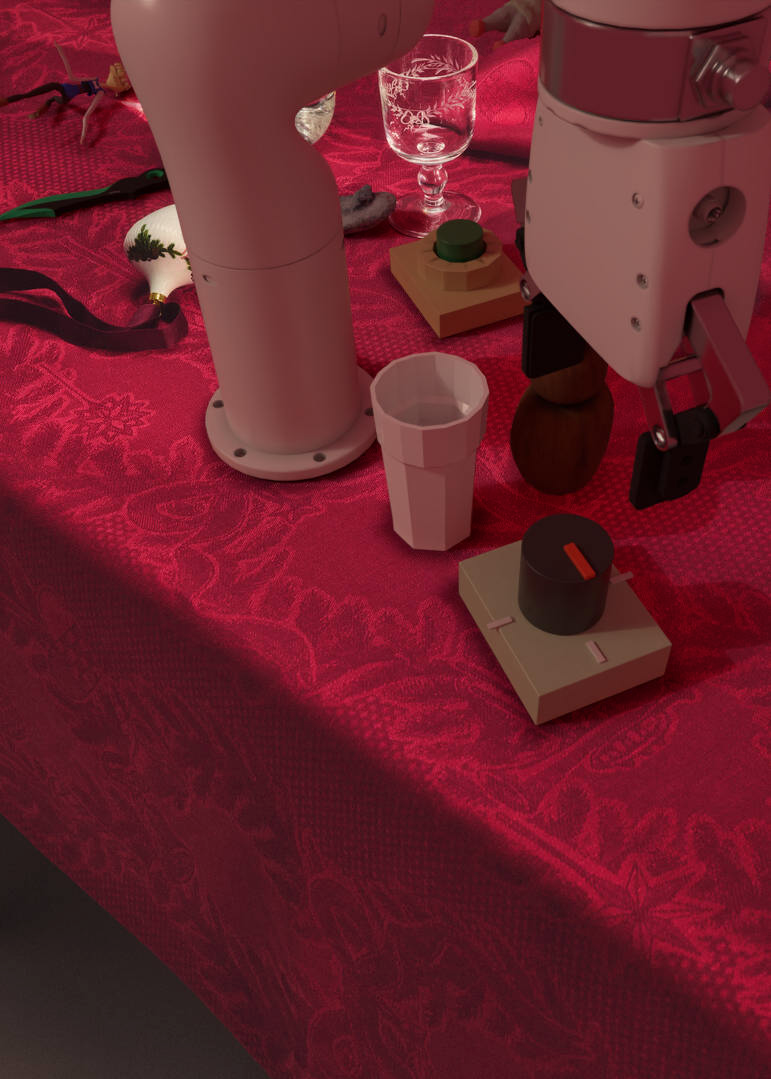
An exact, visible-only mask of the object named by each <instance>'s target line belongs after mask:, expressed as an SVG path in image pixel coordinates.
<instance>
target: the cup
mask: <svg viewBox="0 0 771 1079" xmlns="http://www.w3.org/2000/svg"><path fill="white" fill-rule="evenodd" d="M373 379H374V381H373V382H372V384H371V385H370V391H371V399H372V406H373V413H374V419H375V426H376V432H377V438H376V439H377V442H378V443H379V445H380V447H381V453H382V460H383V467H384V473H385V478H386V485H387V486H386V487H387V492H388V497H389V504H390V510H391V516H392V523H393V524H392V525H393V526H392V527H393V531H394V532H395V533H396V534H397V535H398V536H399V537H400V538H401V539H402V540H403V541H405V543H406V544H408V545H409V546H410V548H412V549H413V550H426V551H428V550H429V551H439V552H446V551H448V550H449V549H452V548H453V547H454V546H455V545H456V546H457V544H459V543H461V542H462V541H464V540H465V539H467V538H468V537H470V536H471V532H472V531H471V530H472V521H473V514H474V495H475V494H474V492H475V482H476V471H477V470H476V469H477V459H478V448H479V447H480V445H481V443H482V441H483V438H484V437H485V435H486V432H487V424H488V422H487V421H488V410H489V399H490V390H489V386H488V382H487V378H486V376H485V375H484V374H483V373H482V371H481V369H480V368H479V367H478V366H477V364H476V363H474V362H471V361H469V360H467V359H465V358H463V357H461V356H459V355H455V354H450V353H446V352H439V351H428V352H419V353H412V354H409V355H406V356H402V357H400V358H397V359H396V358H395V359H393V360H391V361H390V362H389V363H388V364H387V365H386V366H384V367H383V368H382V369H381V370H379V371H378V372H377V373H376V376H375V377H374V378H373Z"/></svg>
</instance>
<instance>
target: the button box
mask: <svg viewBox="0 0 771 1079" xmlns="http://www.w3.org/2000/svg"><path fill="white" fill-rule="evenodd" d="M482 228H483V253H482V255H481V256H480V257H479V258H478V259H476V260H473V261H469V262H466V263H451V262H448V261H445V260H443V259H441V258H440V257H439V256H438V254H437V243H436V231H437V229H438V228H434V229H432V230H430V231H429V232H428V233H427V234H425V235H424V236H423V237H422V238H420V239H419V240H414V241H412V242H407V243H404V244H401V245H398V246H397V245H396V246H394V247H390V248H389V261H390V273H391V274H392V275H393V277H394V278H395V279H396V280H397V282H398V283H399V284H400V286H401V288H402V289H403V290H404V292H405V294H407V295H408V298H410V300H411V301H412V302H413V304H414V305H415V307H416V308H417V309H418V311H419V312H420V313H421V315H422V317H423V318H424V319H425V321H426V322H427V323H428V324H429V326H430V327H431V329H432V330H433V331H434V333H435V334H436V335H437V337H438V338H439V339H443V338H444V339H445V338H447V337H450V336H453V335H456V334H460V333H464V332H467V331H469V330H470V331H471V330H473V329H476V328H481V327H483V326H486V325H490V324H493V323H496V322H501V321H503V320H506V319H510V318H513V317H516V316H519V315H523V314H524V306H527V305H530V304H532V301H530V302H526V301H525V300H524V299H523V297H522V295H521V292H520V288H519V279H520V277H521V276H522V275H523V274H524V273H523V272H522V271H521V270H520V269H519V267H518V266H517V265H516V264H515V263H514V262H513V261H512V260H511V259H510V257H509V256H508V255H507V254H506V253H505V251H503V241H502V240H501V239H500V238H499V237H498V236H497V234H496V233H495V232H494V231H492V230H490V229H487V228H485V227H482Z"/></svg>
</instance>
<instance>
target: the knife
mask: <svg viewBox="0 0 771 1079" xmlns="http://www.w3.org/2000/svg"><path fill="white" fill-rule="evenodd" d="M167 189H171V188H170V184H169V181H168V178H167V174H166V171H165V168H164V167H162V168H161V167H154V168H153V167H152V168H150V169H146V170H144V171H143V172H141V174H139V175H138V176H129V177H127V176H126V177H123V178H121V179H118V180H117V181H114V182H113V183H112V184H110V185H109V186H106V187H102V188H98V189H90V190H83V191H75V192H74V191H73V192H67V193H60V194H54V195H49V196H44V197H40V198H36V199H35V200H31V201H28V202H25V203H22V204H20V205H18V206H16V207H14V208H12V209H10V210H8V211H5V212H3V213H2V214H0V222H4V221H8V220H12V219H19V218H45V217H47V218H48V217H49V218H57V217H59V216H62V215H64V214H67V213H71V212H74V211H77V210H82V209H85V208H89V207H94V206H97V205H101V204H106V203H111V202H118V201H124V200H136V199H137V198H138V197H140V196H143V195H146V194H151V193H155V192H158V191H163V190H167Z"/></svg>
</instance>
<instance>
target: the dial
mask: <svg viewBox="0 0 771 1079" xmlns="http://www.w3.org/2000/svg"><path fill="white" fill-rule="evenodd" d="M521 540H522V544H521V557H520V572H519V587H518V604H519V608H520V610H521V612H522V614H523V616H524V617H525V618H526V619H527V620H528V622H529V623H531V624H532V625H533V626H535V627H536V628H538V629H540V630H542V631H544V632H547V633H550V634H555V635H574V634H578V633H581V632H584V631H586V630H588V629H590V628H591V627H593V626H594V625H595V624H596V623H597V622H598V621H599V620H600V618H601V617H602V615H603V613H604V609H605V604H606V598H607V593H608V587H609V581H610V576H611V570H612V564H614V558H615V545H614V541H613V539H612V537H611V535H610V534H609V533H608V531H607V530H606V528H604V527H603V526H602V525H601V524H599V523H598V522H597V521H595V520H593V519H591V518H589V517H586V516H583V515H580V514H576V513H556V514H550V515H547V516H544V517H542V518H540V519H538V520H536V521H535V522H533V523H532V524H530V526H529V527H528V528H527V530H526V531H525V533H524V534H523V536H522V539H521Z"/></svg>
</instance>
